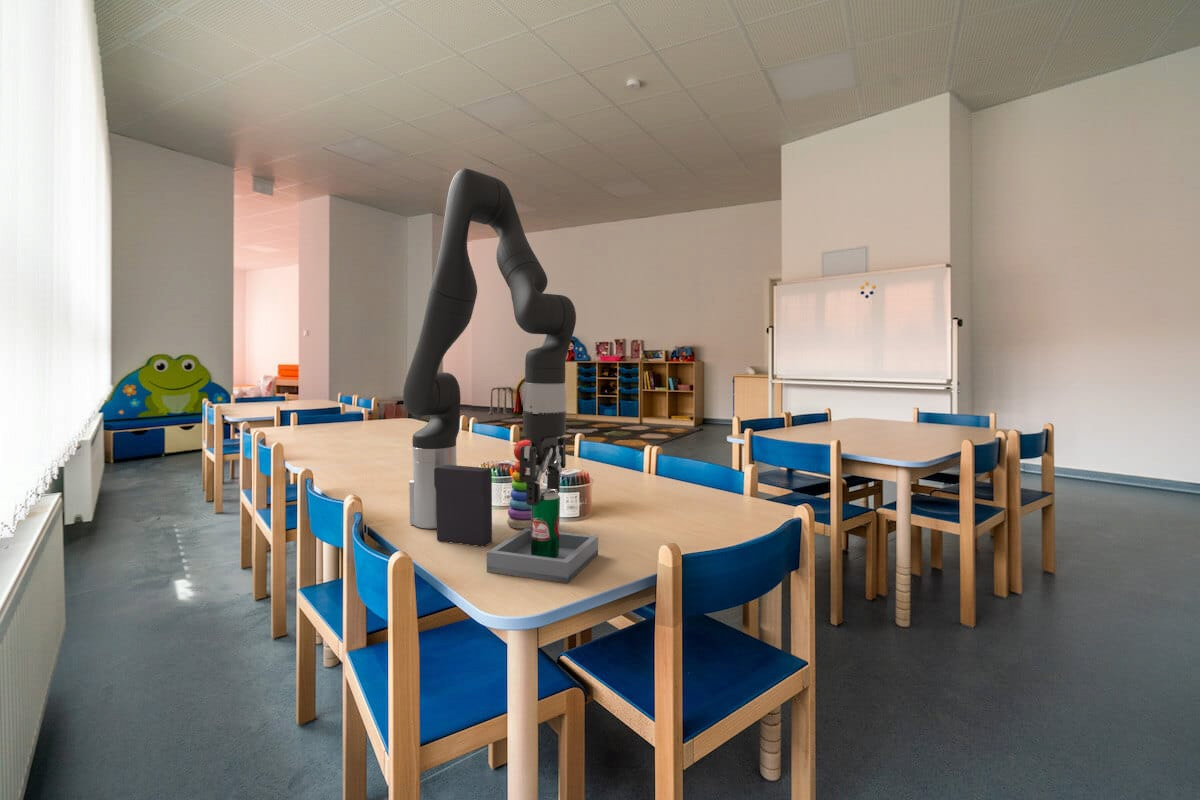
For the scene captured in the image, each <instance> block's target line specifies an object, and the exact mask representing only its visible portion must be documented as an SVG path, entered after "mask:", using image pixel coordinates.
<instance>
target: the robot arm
mask: <svg viewBox="0 0 1200 800" xmlns="http://www.w3.org/2000/svg"><path fill="white" fill-rule="evenodd" d="M445 205H446V206H445V211H444V213H445V214H444V219H443V228H442V234H441V240H440V246H439V250H438V257H437V261H436V264H435V268H434V270H435V271H434V274H433V278H432V281H431V286H430V289H429V294H428V297H427V303H426V306H425V307H426V308H425V313H424V317H423V318H424V319H423V321H422V326H421V330H420V334H419V338H418V342H417V345H416V348H415V351H414V354H413V357H412V361H411V363H410V366H409V369H408V371H407V372H408V373H407V376H406V378H405V381H404V385H403V394H402V399H403V404H404V405H403V406H404V408H405V410H406V411H407V412H408V414H410V415H411V416H416V417H422V416H423V417H424V416H430V419H429V421H428V423H427V424H426V425H425V426H423V427H422V428H420V429H419V430H417V431H416V432H414V433H413V435H412V479H411V480H409V482H408V486H409V487H408V491H409V492H408V493H409V496H408V497H409V498H408V499H409V500H408V501H409V525H413V526H415V527H417V528H419V529H437V510H436V488H435V486H434V469H435V468H436V467H439V466H443V465H456V466H458V465H457V438H458V435H459V433H460V421H461V419H460V418H461V399H462V398H461V388H460V385H459V381H458V379H457V378H456V377H455V375H454V374H452V373H450V372H444V371H442V372H441V371H440V372H439V368H440V365H441V363H442V360H443V358H444V356H445V354H447V352H448V350H449V349H451V347H452V346H453V344H454V343H455V342H456V341H457V340H458V339H459V338H460V336H461V335H462V334H463V333H464V331H465V330H466V329H467V328H468V325H469V324H470V322H471V319H472V316H473V313H474V312H473V311H474V308H475V304H476V299H477V296H478V284H477V280H476V275H475V272H474V270H473V266H472V264H471V260H470V256H469V251H468V250H469V249H468V236H469V229H470V225H471V222H474V223H478V224H482V225H484V226H486V225H487V226H490V227H491V228H492V229H493V230H494V232H495V233H496V234H497V236H498V239H499V241H498V244H497V249H496V262H497V263H496V264H497V266H498V269H499V271H500V274H501V275H502V277H503V279H504V280H505V283H506V284H507V287H508V288H509V291H510V296H511V301H512V306H513V315H514V318H515V322H516V324H517V325H518V326H519V328H521V330H523V331H524V332H525V333H527V334H532V335H545V339H544V342H543V343H542V346H540V347H536V348H533V349H530V350H528V351H527V353H526V355H525V360H524V361H525V362H524V367H525V368H524V390H523V397H522V398H523V400H522V401H523V403H522V405H523V407H522V409H523V410H522V416H523V417H522V420H523V421H522V422H523V423H522V433H523V435H524V436H525V437H526V436H527V437H529V438H530V446H521V449H520V473H519V480H520V481H521V482H525V483H526V484H527V489H526V503H527V504H528V505H532V506H537V505H539V503H540V489H541V483H540V482H541V479H542V475H543V474H545V473H546V472H547V475H546V476H547V477H546V479H547V480H546V483H547V484H546V489H555V490H557V491H558V494H559V493H560V492H561V491H560V483H561V479H560V478H561V477H560V476H561V474H562V471H563V469H566V466H567V465H566V464H567V462H566V461H567V460H566V457H567V456H566V454H567V453H566V448H567V447H566V436H565V435H566V434H567V433H566V432H567V431H566V430H567V427H566V426H567V390H566V360H567V356H568V352H569V350H570V345H571V342H572V339H573V334H574V332H575V327H576V324H577V323H576V322H577V313H576V308H575V305H574V303H573V302H572V300H571V299H570V297H568V296H566V295H562V294H553V293H544V291H545V290H546V289H547V286H548V284H549V283H548V281H549V280H548V276H547V274H546V272H545V270H544V268H543V266H542V265H541V263H540V262H539V260H538V257H537V256H536V254H535V253H534V251H533V248H532V247H531V246H530V243H529V241H528V239H527V236H526V234H525V231H524V228H523V225H522V222H521V218H520V216H519V213H518V210H517V207H516V204H515V201H514V199H513V196H512V193H511V191H510V190H509V188H508V185H507V184H506V183H505V182H504V181H503V180H501V179H500V178H497V177H495V176H492V175H489V174H485V173H483V172H479V171H477V170H474V169H470V168H461V169H459V170H458V171H457V172H456V173H454V176H453V178H452V180H451V182H450V185H449V189H448V194H447V198H446V204H445ZM525 468H526V469H527V471H526V474H525ZM536 472H537V474H536Z"/></svg>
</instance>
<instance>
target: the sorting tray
mask: <svg viewBox="0 0 1200 800" xmlns="http://www.w3.org/2000/svg"><path fill="white" fill-rule="evenodd" d="M598 556H599V535H591V534H590V535H589V534H579V533H571V532H564V531H563V532H562V531H559V555H558V556H557V557H556V558H549V557H541V556H534V555H531V528H525V529H521V530H520V531H518V532H517V533H515V534H514V535H512V536H511V537H509V538H507V539H506V540H503V541H502V542H501V543H499V544H497V545H495V546H494V547H493V548H490V549H489V550H487V551H486V573H490V572H495V573H494V574H497V573H501V574H500V575H504V574H508V575H507V576H511V575H514V576H513V577H518V576H520V578H526V577H527V578H528V579H534V580H540V581H546V582H553V583H561V584H570V582H571V581H572V580H573V579H575V577H576V576H577V575H579V573H580V572H582V571H583V570H582V569H585V568H586V567H587V566H588V565H589V564H590V563H591V562H592V561H593V560H594V559H595V558H596V557H598ZM581 570H582V571H581ZM527 578H526V579H527Z"/></svg>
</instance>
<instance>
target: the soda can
mask: <svg viewBox="0 0 1200 800" xmlns="http://www.w3.org/2000/svg"><path fill="white" fill-rule="evenodd" d="M560 508H561V497H560V495H559V493H558V491H557V490H555V489H547V488H540V503H539V505H537V506H532V505H531V528H530V529H531V555H534V556H541V557H549V558H556V557H557V556H558V555H559V532H560V523H561V522H560V521H561V517H560V516H561V515H560V514H561V513H560V511H561V509H560Z"/></svg>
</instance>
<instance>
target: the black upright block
mask: <svg viewBox="0 0 1200 800" xmlns="http://www.w3.org/2000/svg"><path fill="white" fill-rule="evenodd" d="M456 465H457V464H456ZM456 465H443V466H439V467H436V468H435V469H434V486H435V488H436V510H437V528H436V540H437V541H438V542H442V541H443V542H444V543H450V542H452V543H451V544H457V543H462V544H461V545H465V544H469V545H468V546H473V545H477V546H476V547H481V546H484V547H486V546H488V545H489V544H491V543H492V542H493V490H492V489H493V481H492V480H493V477H492V474H493V473H492V472H493V471H492V468H490V467H479V466H468V465H467V466H466V465H457V466H456Z"/></svg>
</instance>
